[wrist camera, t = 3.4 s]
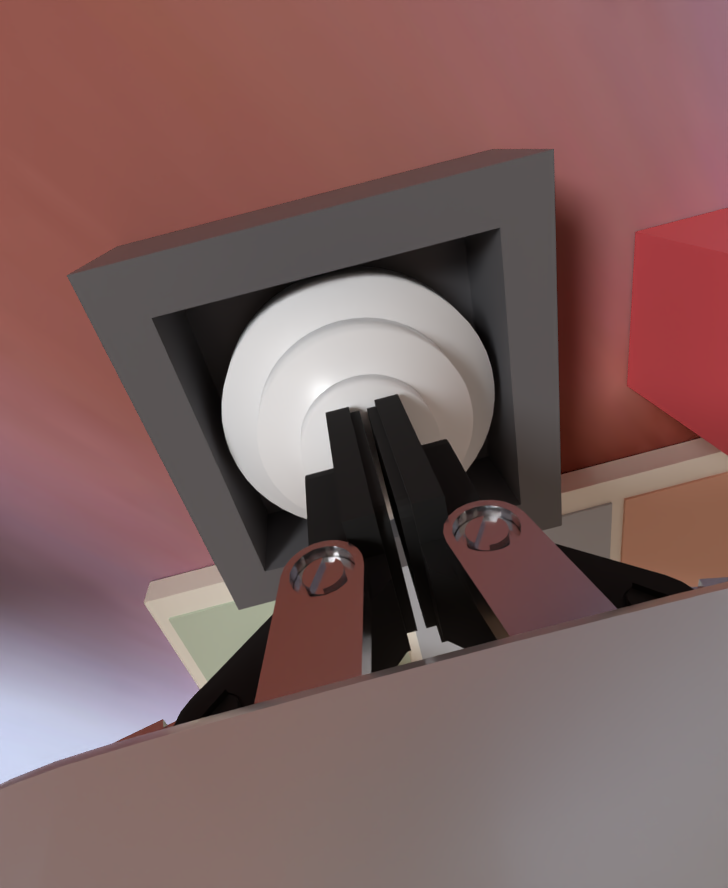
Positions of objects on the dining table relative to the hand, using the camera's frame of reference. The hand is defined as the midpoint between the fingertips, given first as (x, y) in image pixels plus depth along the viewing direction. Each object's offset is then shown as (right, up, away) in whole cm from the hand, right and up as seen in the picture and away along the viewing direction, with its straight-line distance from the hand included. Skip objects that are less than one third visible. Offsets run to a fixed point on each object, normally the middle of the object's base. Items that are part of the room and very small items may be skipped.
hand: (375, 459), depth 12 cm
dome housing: (-1, +3, +4) cm, 5 cm away
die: (+10, +5, +4) cm, 12 cm away
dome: (0, +2, +2) cm, 3 cm away
